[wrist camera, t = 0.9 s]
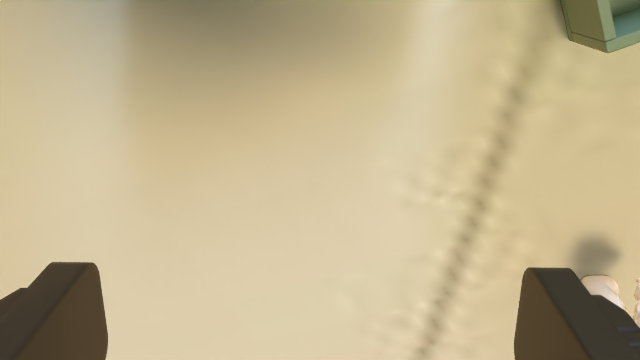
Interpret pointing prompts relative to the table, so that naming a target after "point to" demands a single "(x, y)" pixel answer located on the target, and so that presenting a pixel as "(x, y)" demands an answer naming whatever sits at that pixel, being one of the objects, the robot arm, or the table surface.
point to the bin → (603, 23)
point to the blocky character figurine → (611, 292)
